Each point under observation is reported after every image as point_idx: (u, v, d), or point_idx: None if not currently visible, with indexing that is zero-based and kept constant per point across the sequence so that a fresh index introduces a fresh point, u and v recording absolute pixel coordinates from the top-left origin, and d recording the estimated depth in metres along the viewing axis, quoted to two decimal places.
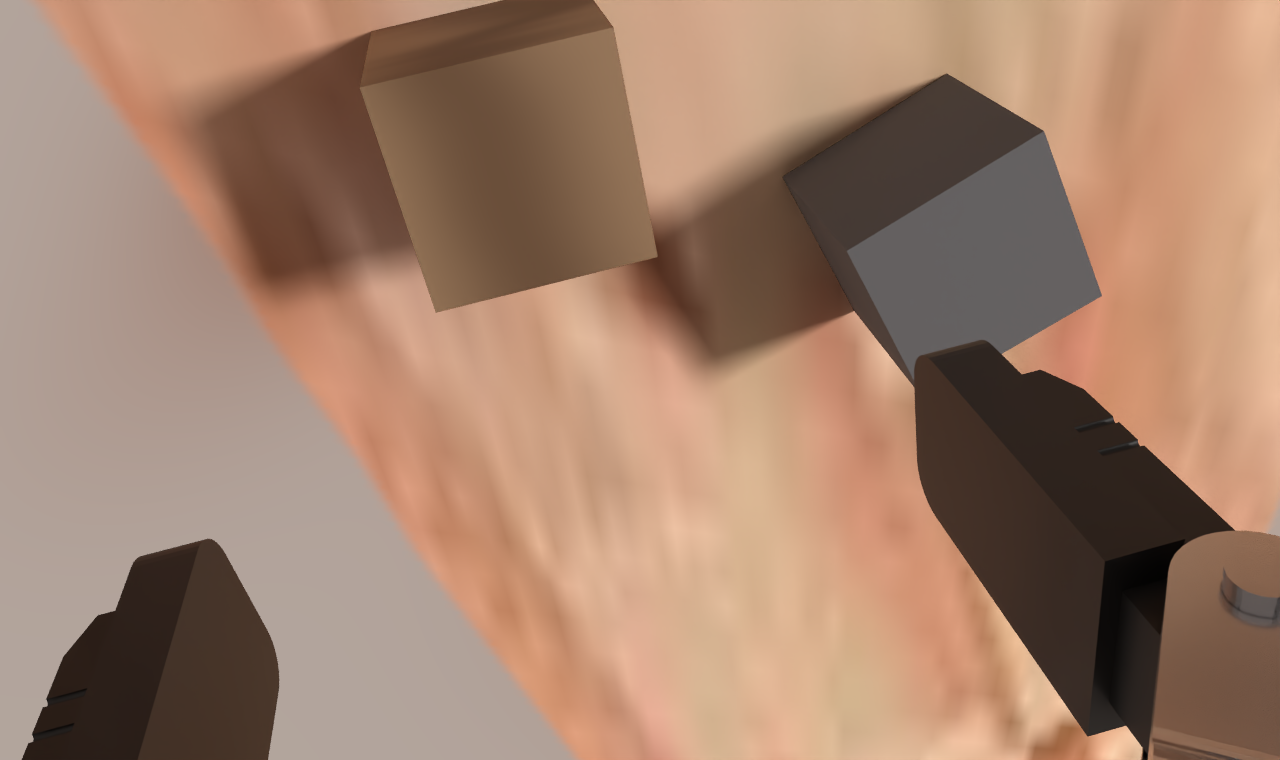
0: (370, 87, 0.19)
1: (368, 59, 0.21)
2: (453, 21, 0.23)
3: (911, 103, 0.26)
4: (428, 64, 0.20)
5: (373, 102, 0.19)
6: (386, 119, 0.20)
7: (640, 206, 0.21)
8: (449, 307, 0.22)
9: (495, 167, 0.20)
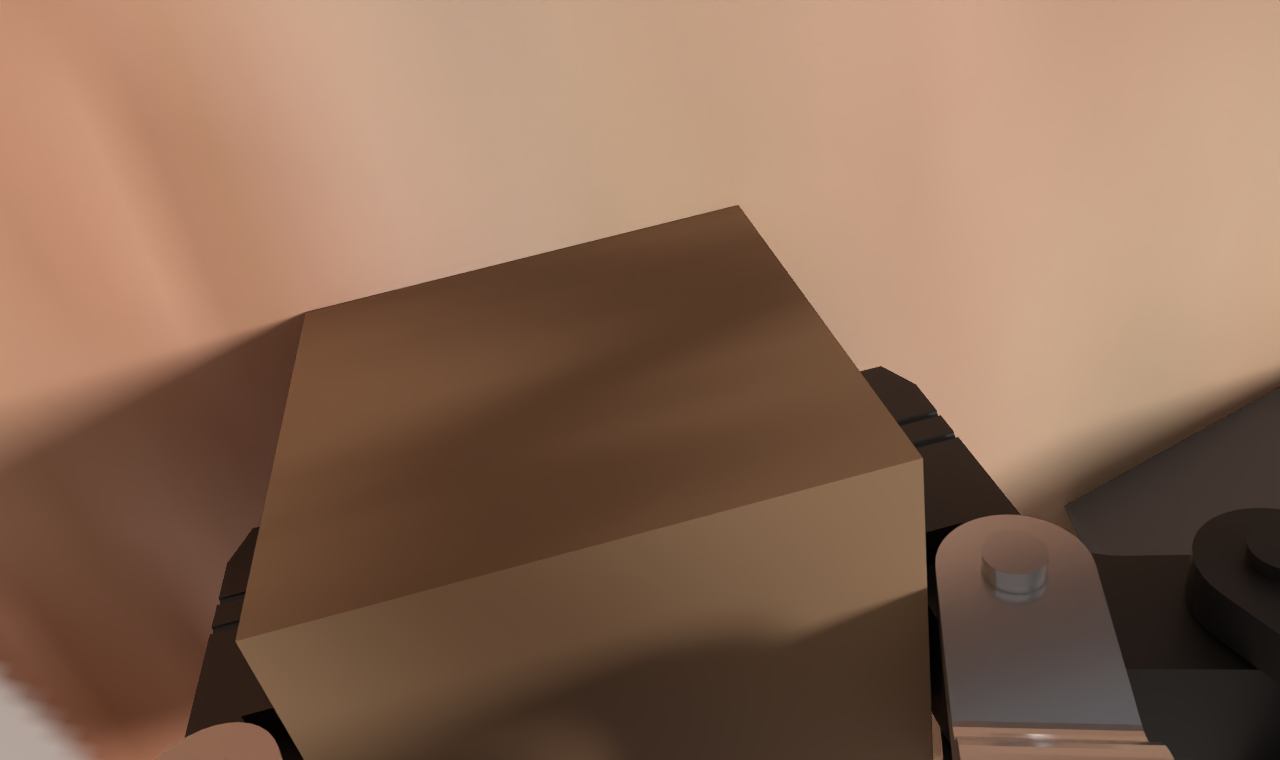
0: (266, 635, 0.07)
1: (281, 459, 0.09)
2: (479, 315, 0.10)
3: None
4: (426, 544, 0.07)
5: (275, 669, 0.07)
6: (314, 697, 0.07)
7: None
8: None
9: (589, 755, 0.08)
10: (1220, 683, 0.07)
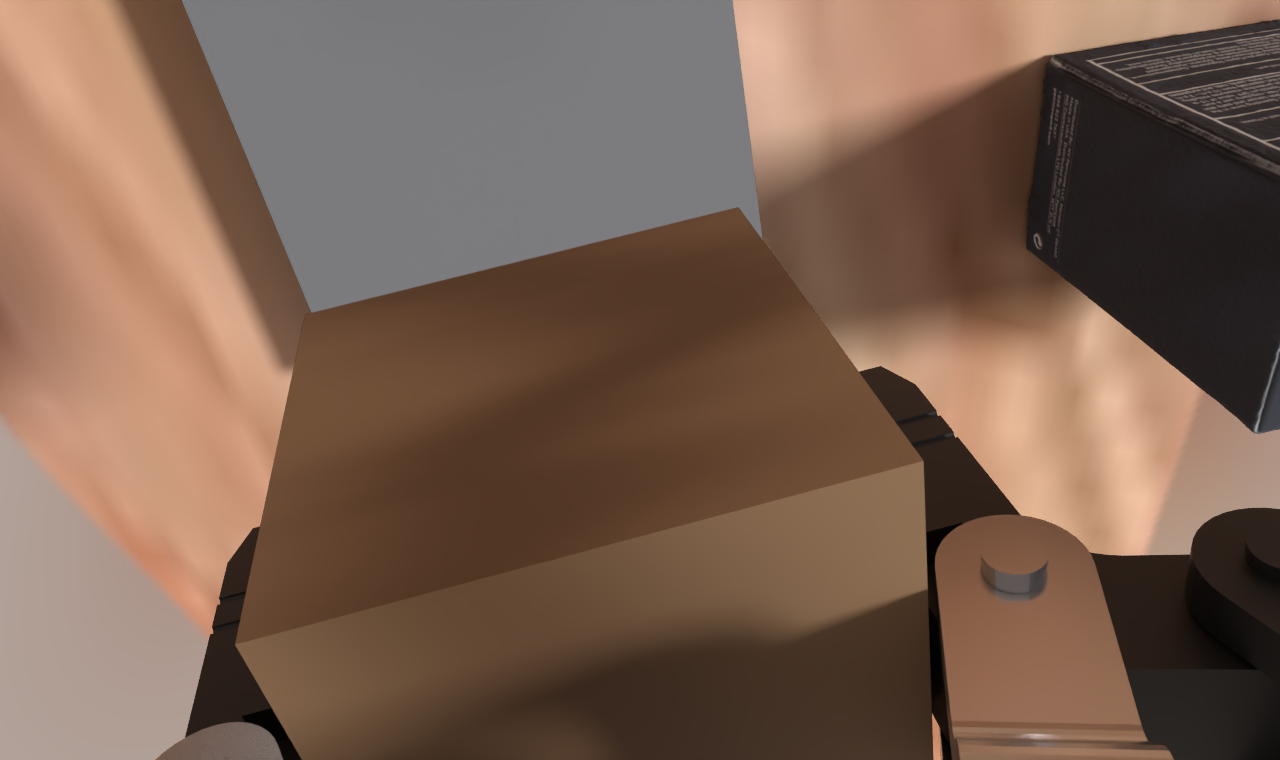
0: (265, 638, 0.07)
1: (281, 461, 0.09)
2: (479, 317, 0.10)
3: None
4: (426, 547, 0.07)
5: (275, 672, 0.07)
6: (313, 701, 0.07)
7: None
8: None
9: (591, 756, 0.08)
10: (1219, 683, 0.07)
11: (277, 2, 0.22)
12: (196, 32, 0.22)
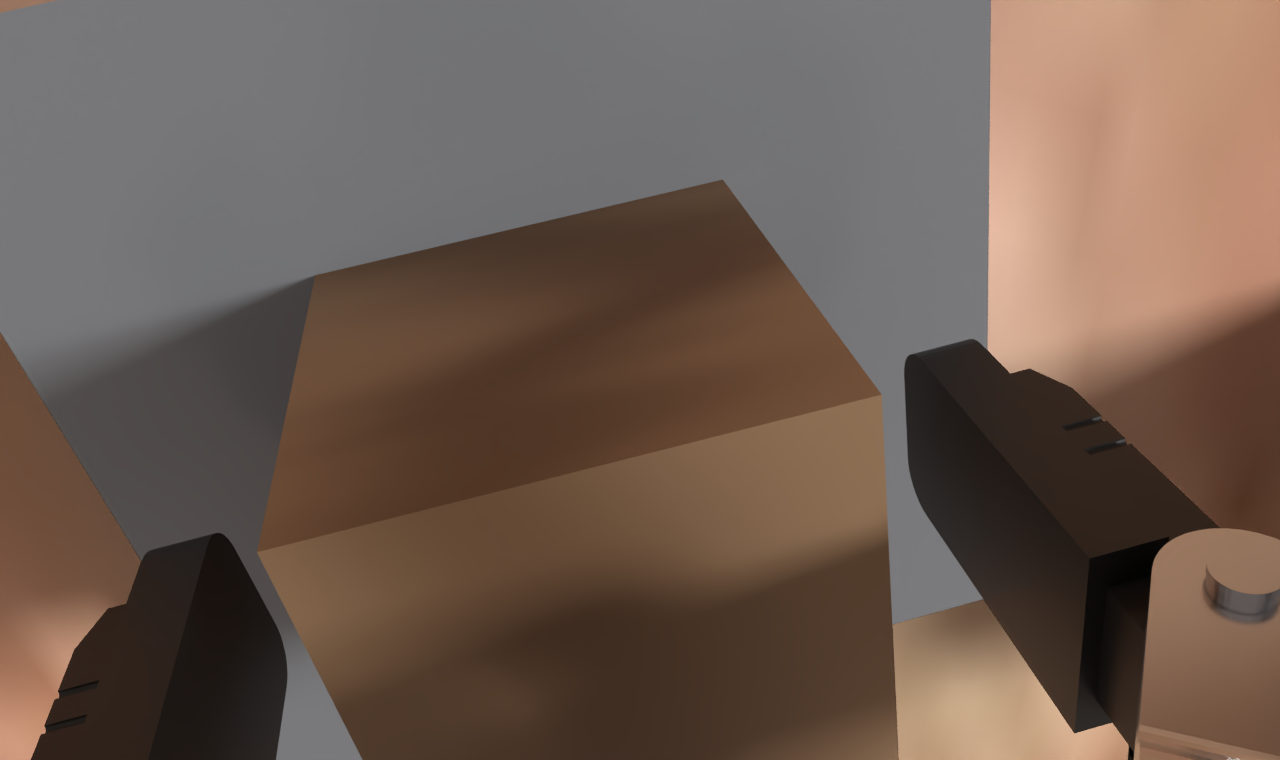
0: (284, 548, 0.08)
1: (295, 401, 0.09)
2: (479, 277, 0.11)
3: None
4: (429, 471, 0.08)
5: (292, 579, 0.08)
6: (327, 609, 0.08)
7: (881, 707, 0.10)
8: None
9: (578, 671, 0.09)
10: None
11: (131, 221, 0.11)
12: None
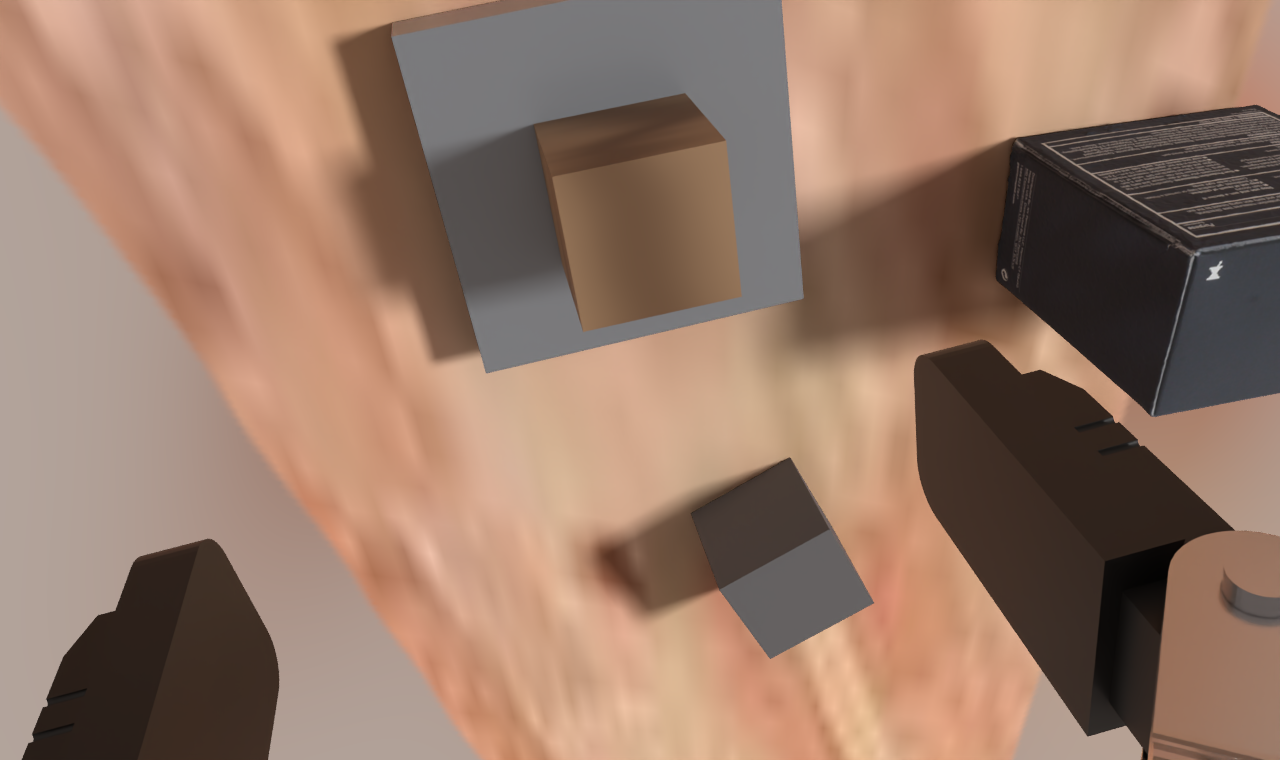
0: (558, 176, 0.28)
1: (545, 151, 0.30)
2: (597, 122, 0.31)
3: (768, 476, 0.43)
4: (596, 161, 0.28)
5: (560, 187, 0.28)
6: (567, 199, 0.28)
7: (733, 261, 0.30)
8: (593, 328, 0.30)
9: (636, 232, 0.29)
10: None
11: (473, 100, 0.31)
12: (415, 120, 0.31)
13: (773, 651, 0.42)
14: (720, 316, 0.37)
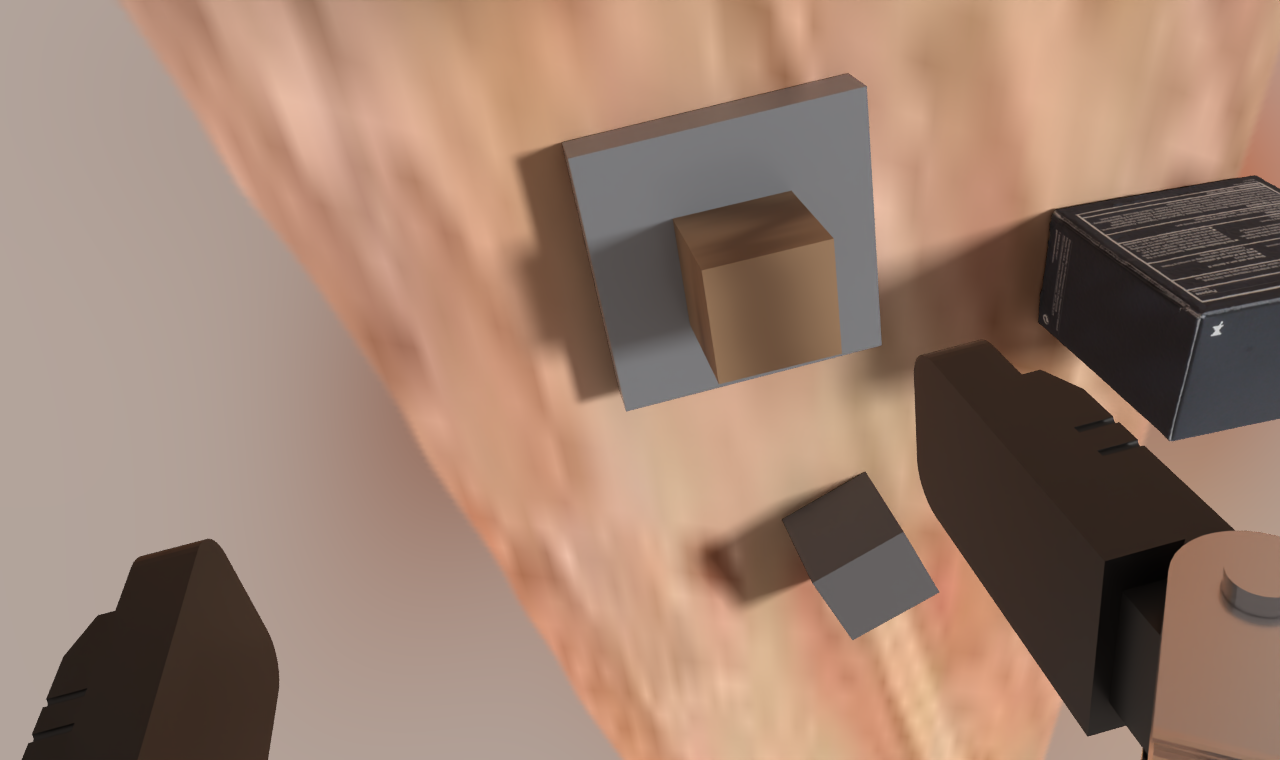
0: (706, 270, 0.36)
1: (690, 246, 0.38)
2: (725, 218, 0.40)
3: (847, 487, 0.52)
4: (733, 256, 0.37)
5: (707, 277, 0.36)
6: (712, 285, 0.37)
7: (836, 327, 0.39)
8: (726, 381, 0.39)
9: (762, 308, 0.38)
10: None
11: (627, 202, 0.40)
12: (582, 219, 0.40)
13: (855, 633, 0.51)
14: (814, 361, 0.45)
